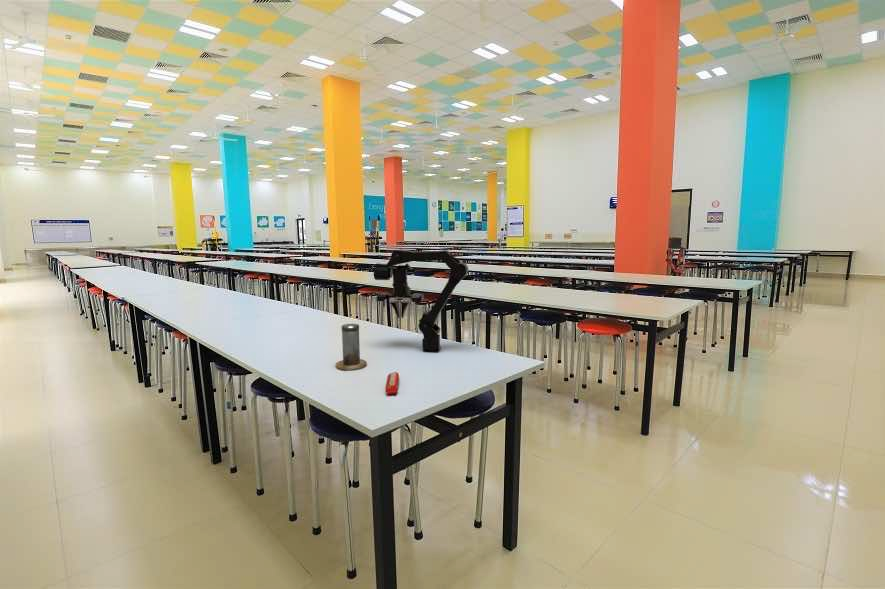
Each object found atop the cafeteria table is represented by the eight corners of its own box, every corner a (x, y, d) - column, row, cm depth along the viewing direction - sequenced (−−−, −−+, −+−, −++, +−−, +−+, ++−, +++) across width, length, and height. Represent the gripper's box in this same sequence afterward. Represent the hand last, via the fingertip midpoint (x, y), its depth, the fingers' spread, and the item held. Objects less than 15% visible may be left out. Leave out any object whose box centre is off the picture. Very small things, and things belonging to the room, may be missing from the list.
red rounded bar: (388, 378, 142) (388, 370, 142) (399, 378, 143) (399, 369, 142) (384, 397, 127) (384, 387, 126) (397, 396, 127) (397, 387, 126)
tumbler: (363, 361, 157) (362, 324, 154) (352, 366, 151) (351, 328, 149) (350, 359, 159) (349, 322, 157) (339, 364, 154) (337, 326, 152)
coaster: (370, 362, 160) (370, 359, 160) (360, 371, 149) (360, 368, 149) (343, 360, 162) (342, 358, 161) (330, 369, 151) (330, 367, 151)
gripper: (426, 278, 180) (426, 315, 182) (383, 278, 183) (384, 313, 185) (420, 281, 169) (421, 320, 171) (375, 280, 172) (376, 318, 174)
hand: (400, 318), depth 176 cm, fingers closed
